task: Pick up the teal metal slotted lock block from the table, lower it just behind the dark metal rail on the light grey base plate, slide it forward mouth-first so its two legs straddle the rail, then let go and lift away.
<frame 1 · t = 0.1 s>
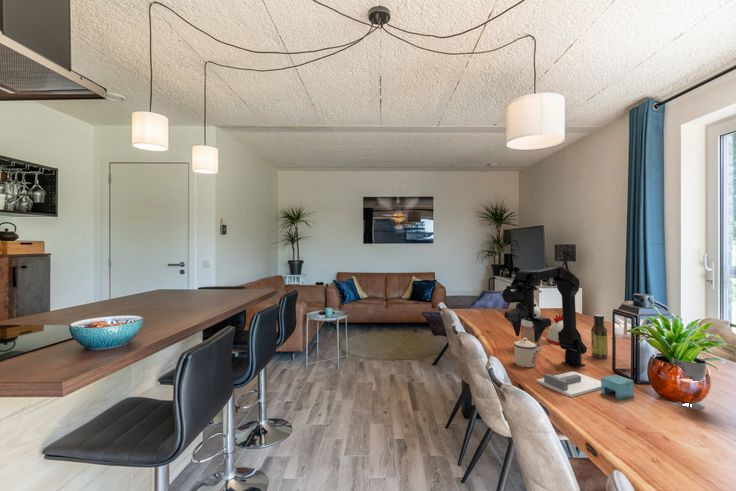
hand: (526, 339, 135), 15 cm above the table, tool pointing down, fingers open, 9 cm apart
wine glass: (689, 404, 109), on the table
sauce bottle: (599, 357, 156), on the table
fruit juice: (531, 349, 169), on the table
kitchen timer: (561, 342, 180), on the table
rail base plate: (573, 384, 125), on the table
teacup with lid: (525, 363, 148), on the table
slotted lock block: (617, 394, 116), on the table
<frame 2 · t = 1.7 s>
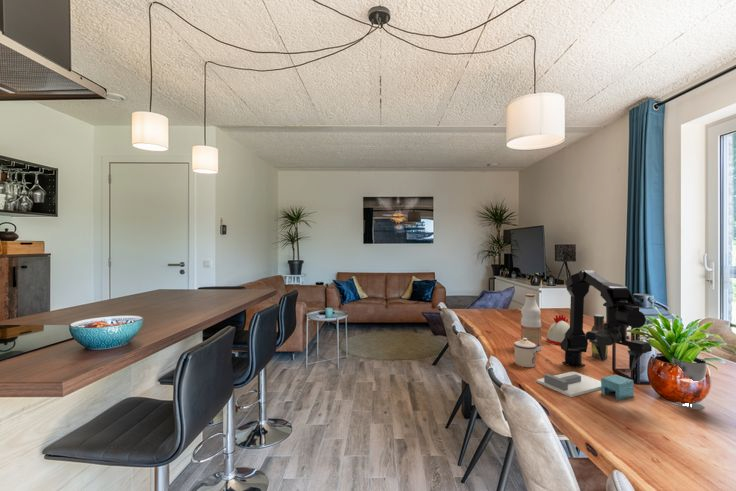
hand: (616, 365, 116), 10 cm above the table, tool pointing down, fingers open, 9 cm apart
nothing on the table moved.
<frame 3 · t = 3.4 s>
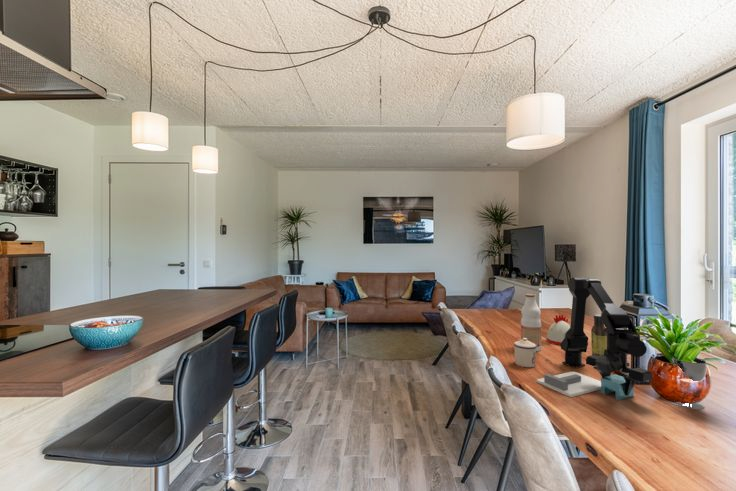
hand: (617, 391, 116), 1 cm above the table, tool pointing down, fingers closed on slotted lock block, 6 cm apart
slotted lock block: (617, 394, 116), on the table, touching gripper
everything else where it was.
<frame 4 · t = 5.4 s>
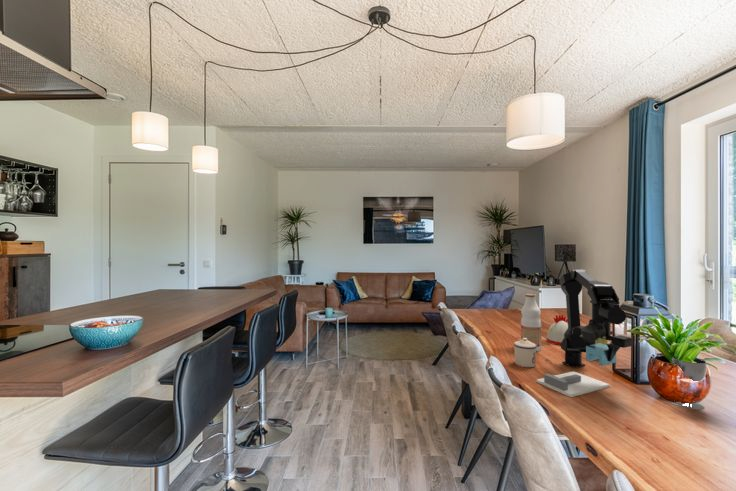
hand: (600, 358, 123), 10 cm above the table, tool pointing down, fingers closed on slotted lock block, 6 cm apart
slotted lock block: (600, 361, 123), point 9 cm above the table, touching gripper
everything else where it was.
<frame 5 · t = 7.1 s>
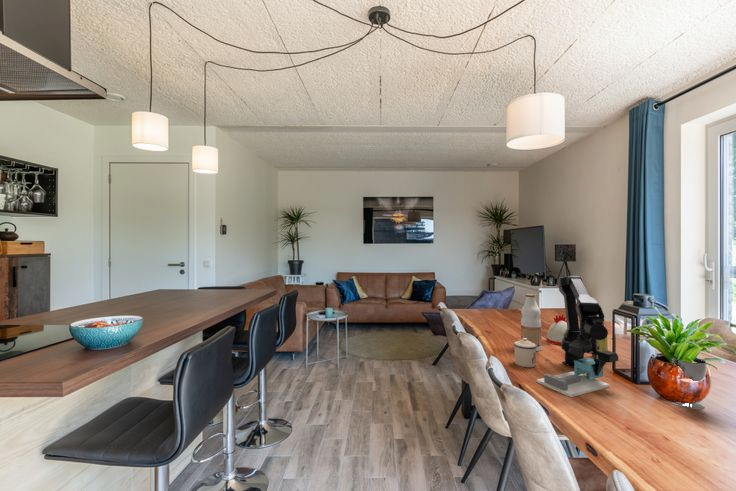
hand: (588, 372, 129), 3 cm above the table, tool pointing down, fingers closed on slotted lock block, 6 cm apart
slotted lock block: (588, 375, 129), point 2 cm above the table, touching gripper
everything else where it was.
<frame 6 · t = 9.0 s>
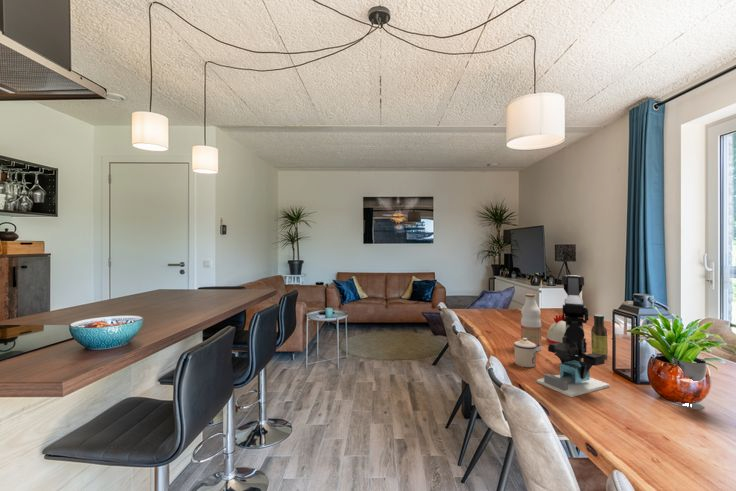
hand: (574, 376, 125), 3 cm above the table, tool pointing down, fingers closed on slotted lock block, 6 cm apart
slotted lock block: (574, 378, 125), point 2 cm above the table, touching gripper
everything else where it was.
when the fingers open (3 cm above the table, at t = 10.8 s): slotted lock block stays where it is, resting on rail base plate.
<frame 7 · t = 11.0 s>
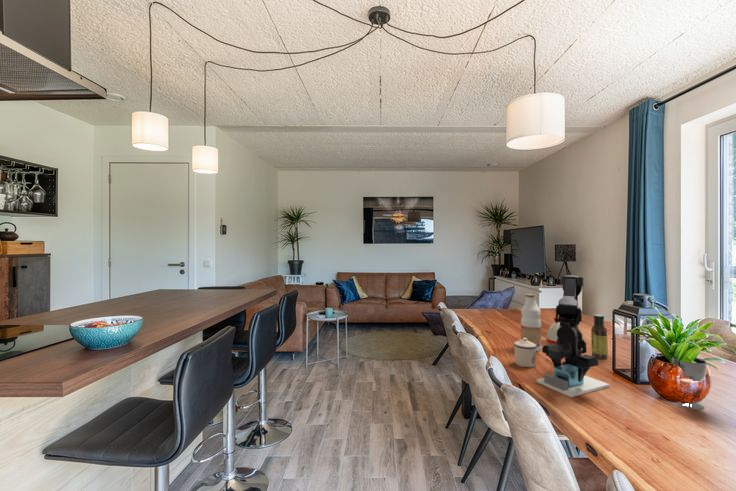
hand: (568, 377, 124), 3 cm above the table, tool pointing down, fingers open, 8 cm apart
slotted lock block: (568, 382, 124), point 1 cm above the table, touching rail base plate
everything else where it was.
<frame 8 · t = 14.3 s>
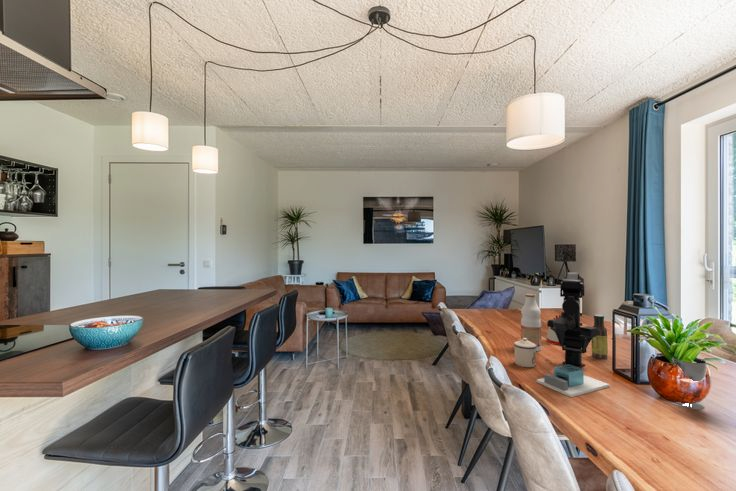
hand: (572, 348, 134), 11 cm above the table, tool pointing down, fingers open, 9 cm apart
nothing on the table moved.
at the end: slotted lock block 0.0 cm from the target spot on the rail base plate, point 1.0 cm above the rail base plate's base; slotted lock block tilted 0°; the gripper is holding nothing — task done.
